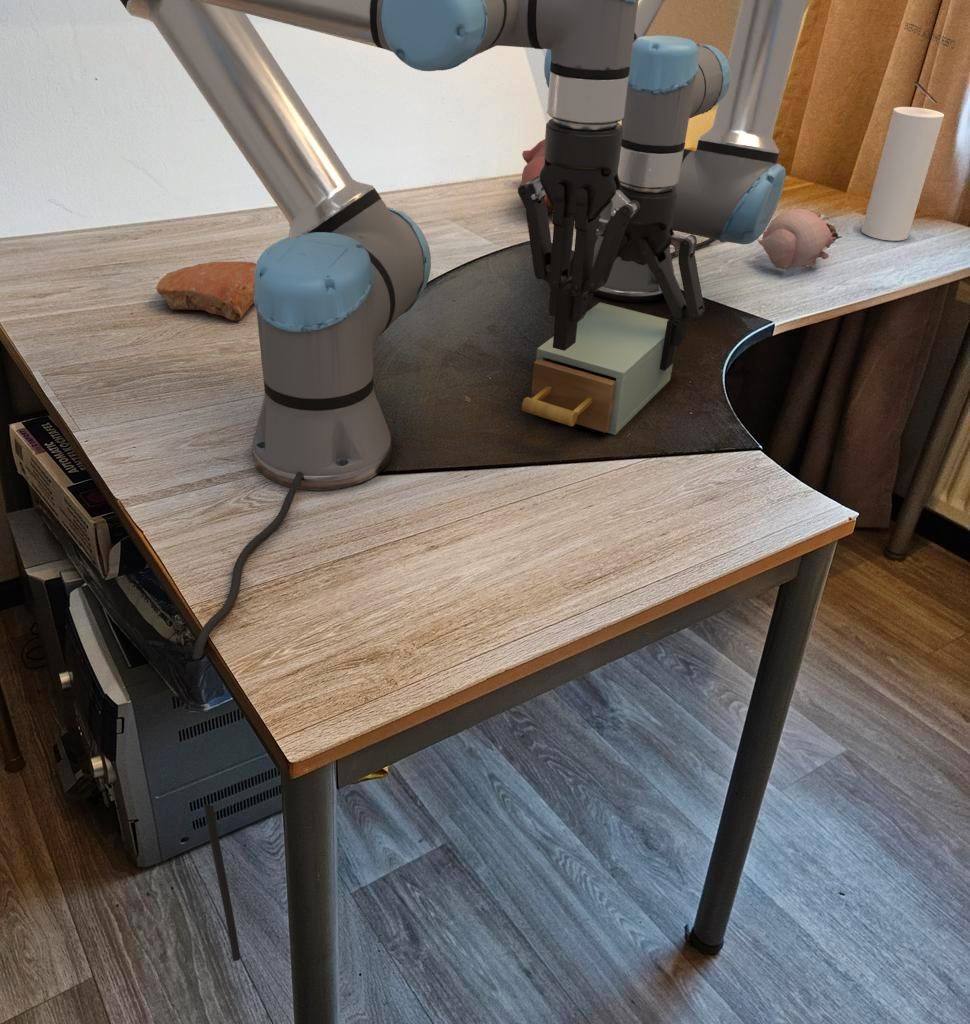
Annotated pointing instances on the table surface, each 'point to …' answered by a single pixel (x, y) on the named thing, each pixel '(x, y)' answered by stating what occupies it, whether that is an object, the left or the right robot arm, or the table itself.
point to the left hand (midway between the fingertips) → (564, 344)
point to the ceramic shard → (211, 288)
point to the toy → (798, 238)
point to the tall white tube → (902, 168)
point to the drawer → (571, 395)
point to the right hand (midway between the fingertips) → (623, 354)
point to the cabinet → (618, 356)
